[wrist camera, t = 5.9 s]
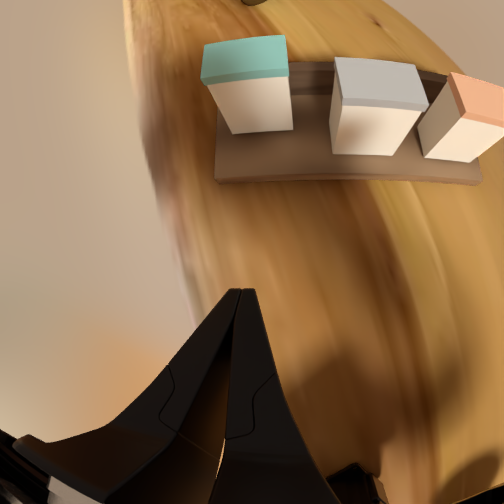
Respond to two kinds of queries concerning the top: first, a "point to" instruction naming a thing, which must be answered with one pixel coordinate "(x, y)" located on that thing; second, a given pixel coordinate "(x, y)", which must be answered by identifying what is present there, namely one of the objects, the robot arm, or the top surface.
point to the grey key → (373, 105)
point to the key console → (328, 142)
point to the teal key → (250, 83)
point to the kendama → (253, 2)
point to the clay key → (463, 119)
